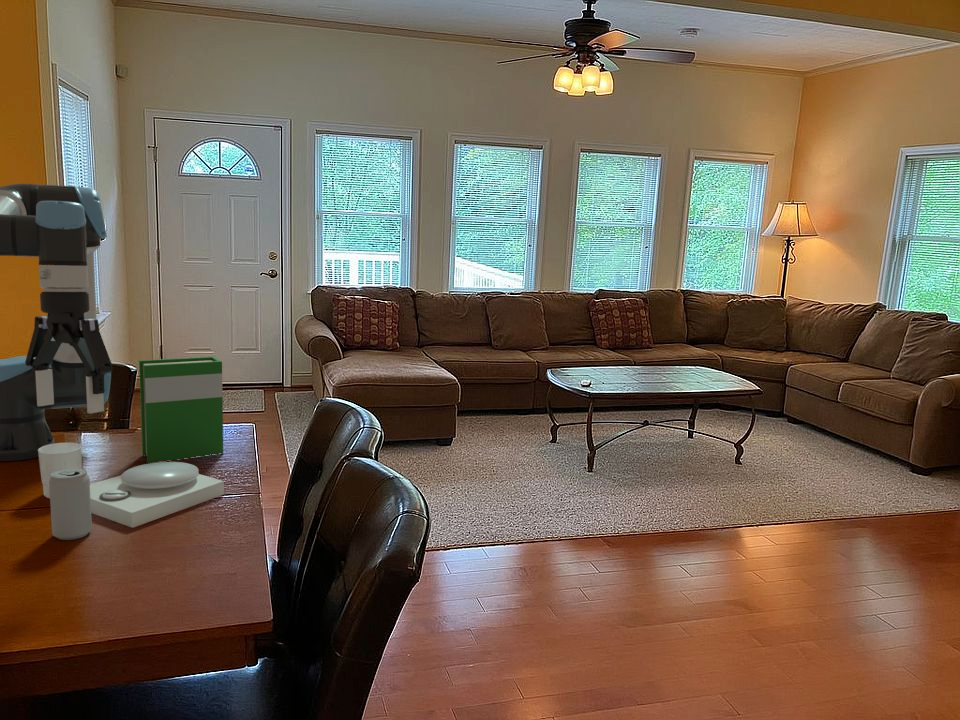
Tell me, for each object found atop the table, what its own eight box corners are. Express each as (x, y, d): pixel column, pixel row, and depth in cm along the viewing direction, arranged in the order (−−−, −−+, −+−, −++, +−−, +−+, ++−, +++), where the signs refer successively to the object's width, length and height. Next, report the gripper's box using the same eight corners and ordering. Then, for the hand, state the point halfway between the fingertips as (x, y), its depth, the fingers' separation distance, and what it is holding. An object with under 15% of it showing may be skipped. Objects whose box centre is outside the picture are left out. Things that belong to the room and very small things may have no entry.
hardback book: (147, 464, 173) (144, 365, 169) (142, 455, 180) (139, 360, 175) (223, 454, 183) (222, 361, 179) (215, 446, 189) (214, 356, 185)
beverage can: (74, 543, 130) (71, 479, 128) (43, 539, 131) (40, 475, 129) (99, 530, 136) (97, 468, 134) (70, 525, 137) (66, 465, 135)
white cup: (44, 503, 147) (41, 455, 146) (37, 491, 153) (34, 445, 151) (87, 495, 152) (85, 449, 151) (79, 484, 158) (77, 440, 156)
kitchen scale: (68, 504, 147) (67, 481, 146) (162, 475, 166) (161, 454, 165) (132, 527, 137) (131, 502, 137) (224, 494, 156) (223, 472, 156)
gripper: (-2, 288, 130) (5, 405, 132) (93, 292, 119) (98, 418, 122) (39, 288, 137) (45, 399, 139) (132, 291, 126) (136, 411, 129)
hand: (70, 408), depth 131 cm, fingers open, 13 cm apart
